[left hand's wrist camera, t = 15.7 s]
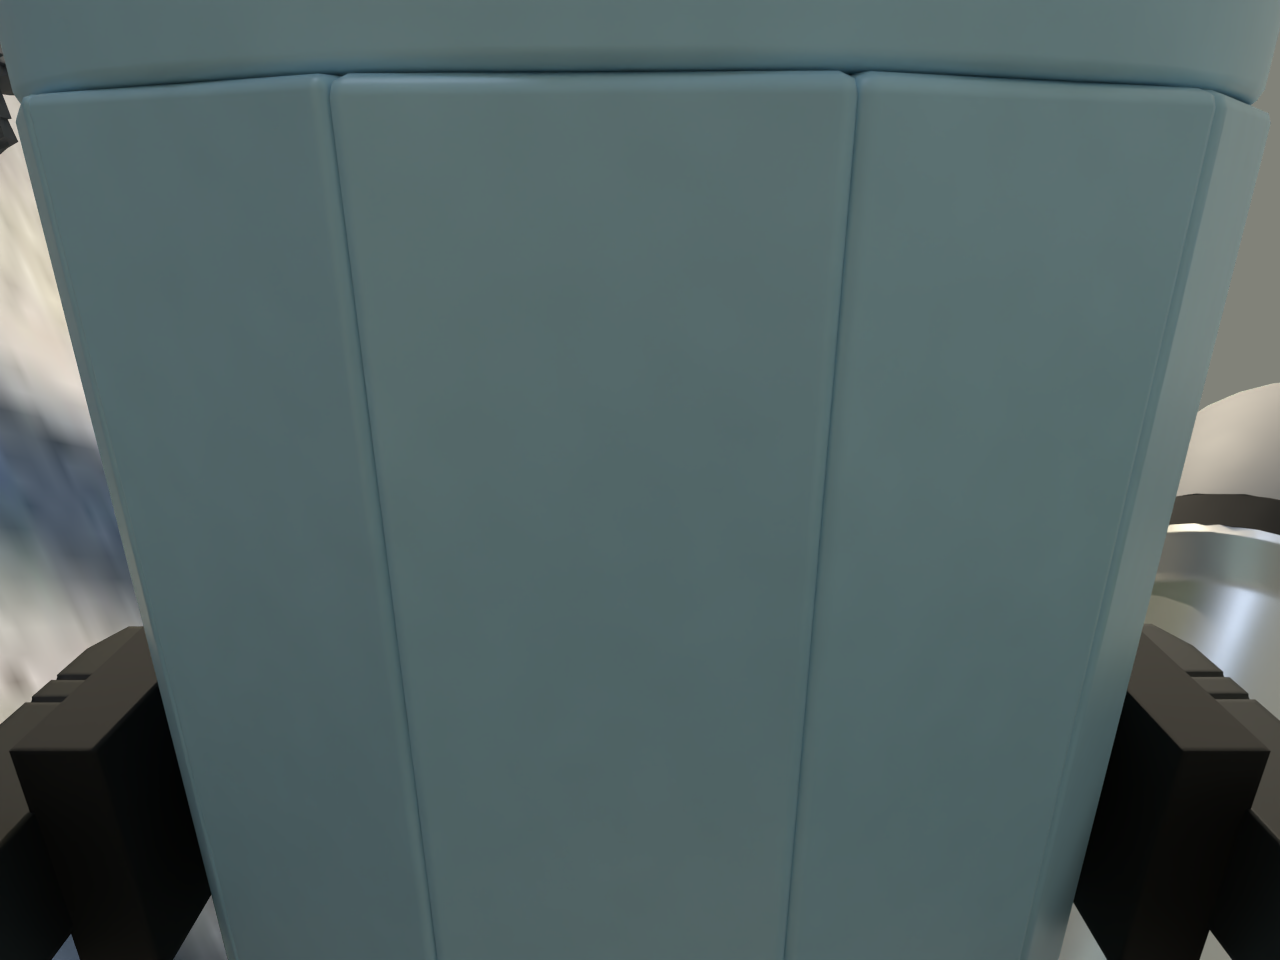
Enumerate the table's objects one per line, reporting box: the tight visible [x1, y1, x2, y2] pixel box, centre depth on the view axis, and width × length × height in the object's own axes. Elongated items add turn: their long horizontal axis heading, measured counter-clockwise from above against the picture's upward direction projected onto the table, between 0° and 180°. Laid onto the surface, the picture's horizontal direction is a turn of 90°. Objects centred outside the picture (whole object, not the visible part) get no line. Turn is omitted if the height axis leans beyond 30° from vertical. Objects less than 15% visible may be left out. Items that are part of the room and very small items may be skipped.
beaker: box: [0, 0, 1280, 960], centre depth 9 cm, size 9×9×12 cm
